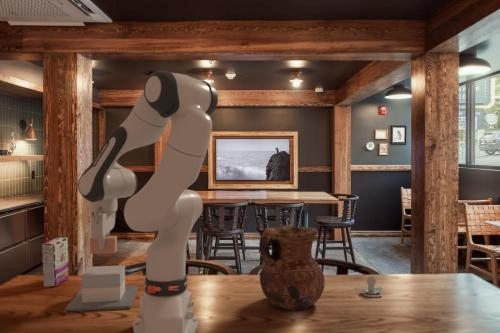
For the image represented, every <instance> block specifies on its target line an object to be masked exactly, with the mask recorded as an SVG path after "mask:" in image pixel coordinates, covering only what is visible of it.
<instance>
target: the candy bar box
mask: <svg viewBox="0 0 500 333" xmlns="http://www.w3.org/2000/svg"><path fill="white" fill-rule="evenodd" d="M41 254H42V256H41V257H42V283H43V285H42V286H56V285H57V284H59V283H60V282H62V281H64V280H65V279H67V278H68V277H69V278H70V266H69V260H70V259H69V237H56V238H52V239H51V240H48V241H47V242H44V243H42V244H41ZM67 280H68V279H67ZM64 282H65V281H64Z"/></svg>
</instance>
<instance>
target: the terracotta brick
mask: <svg viewBox="0 0 500 333" xmlns="http://www.w3.org/2000/svg"><path fill="white" fill-rule="evenodd" d="M117 251H118V235H109V236H105V248H104V249H99V243H98V239H93V238H92V237H90V238H89V255H91V254H92V255H95V254H96V255H97V254H116V253H117Z"/></svg>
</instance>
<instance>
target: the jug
mask: <svg viewBox="0 0 500 333" xmlns="http://www.w3.org/2000/svg"><path fill="white" fill-rule="evenodd" d="M318 233H319V230H318V229H316V228H315V227H314V228H313V227H305V226H302V225H300V226H299V227H298V226H294V225H292V224H291V225H290V224H288V225H287V224H286V225H282V226H279V227H272V226H269V227H266V228H265V229H264V230H263V232H262V234H261V236H260V238H259V239H260V240H259V244H258V245H259V253H260V256H261V257H260V258H262V261H263V266H262V268H261V270H260V273H259V283H260V288H261V290H262V292H263V294H264V297H265V298H266V299H267V300H268V301H269V303H270V304H271V305H272V306H273V307H275V308H278V309H281V310H287V311H295V312H296V311H303V310H307V309H309V308H311V306H313V305H314V304H315V303H316V302H318V301H319V299H321V297H322V295H323V293H324V288H325V282H326V281H325V278H326V277H325V275H324V272H323V269H322V267H321V266H320V265H319V263H318V262H317V261H316V260H315V258H314V257H313V255H312V248H313V243H314V240H315V237H316V236H317V235H318ZM270 247H271V248H270ZM270 249H271V252H270Z"/></svg>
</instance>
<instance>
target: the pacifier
mask: <svg viewBox="0 0 500 333" xmlns="http://www.w3.org/2000/svg"><path fill="white" fill-rule="evenodd" d="M366 279H367V280H366V283H367V288H364V287H362V286H360V289H361V290H362V291H363V293H362V294H363V296H364V297H368V298H381V297H382V296H383V294H382V293H381V292H382V290H383V288H382V287H381V286H380V287H379V286H377V287H375V285H376V283H377V281H376V279H375V277H374V276H369V277H368V278H366Z"/></svg>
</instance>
